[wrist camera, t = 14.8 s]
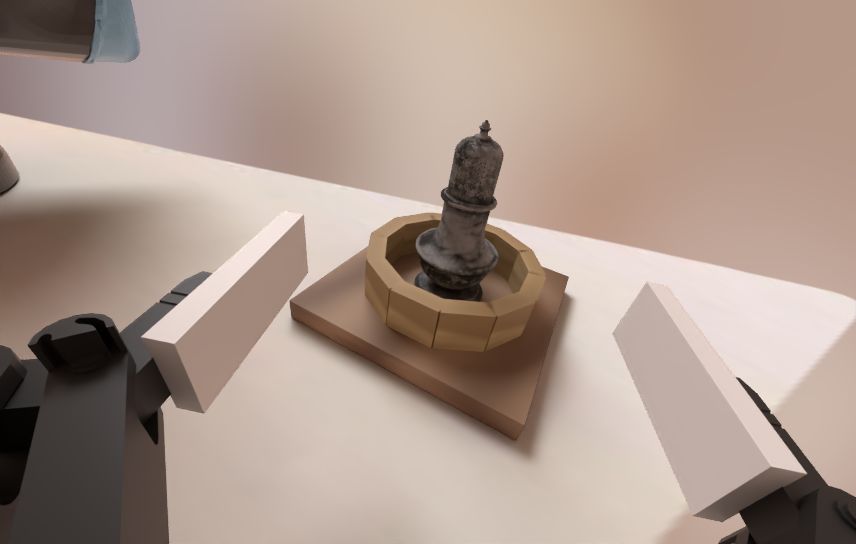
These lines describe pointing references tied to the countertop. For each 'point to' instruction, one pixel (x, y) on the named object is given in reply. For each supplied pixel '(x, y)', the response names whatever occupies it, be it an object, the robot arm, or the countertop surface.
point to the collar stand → (443, 321)
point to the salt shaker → (463, 224)
